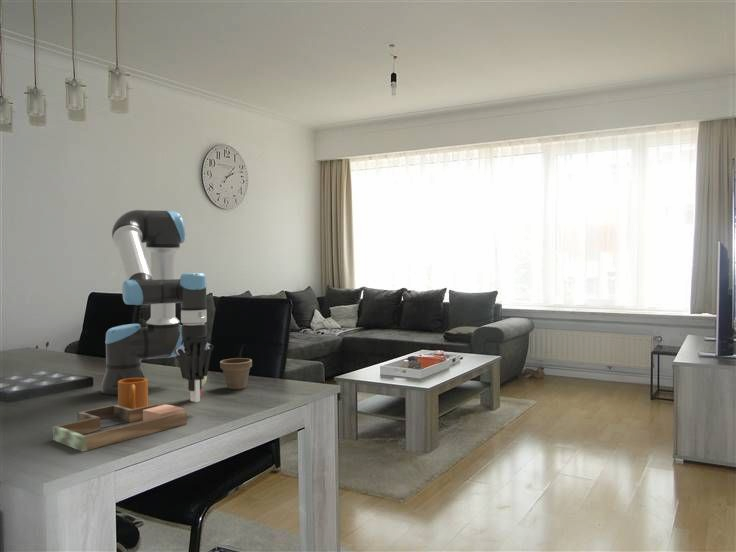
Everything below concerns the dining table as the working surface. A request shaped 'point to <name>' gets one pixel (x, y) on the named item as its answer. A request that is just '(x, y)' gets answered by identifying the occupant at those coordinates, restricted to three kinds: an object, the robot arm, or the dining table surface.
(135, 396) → the mug
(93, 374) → the dining table surface
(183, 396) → the dining table surface
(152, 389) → the dining table surface
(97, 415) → the wooden tray frame
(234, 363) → the flower pot
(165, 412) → the block
